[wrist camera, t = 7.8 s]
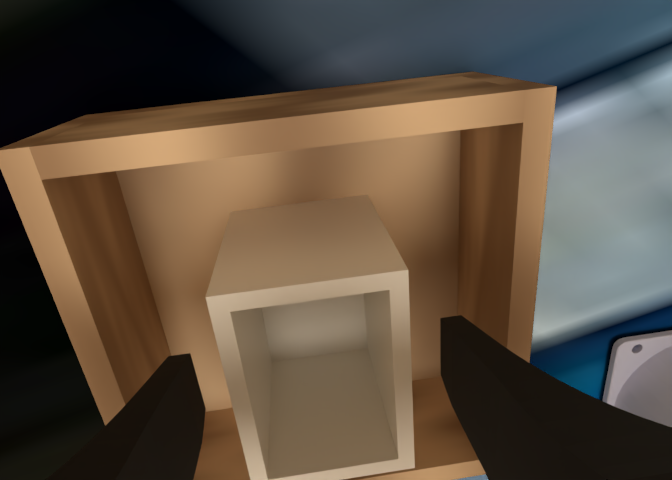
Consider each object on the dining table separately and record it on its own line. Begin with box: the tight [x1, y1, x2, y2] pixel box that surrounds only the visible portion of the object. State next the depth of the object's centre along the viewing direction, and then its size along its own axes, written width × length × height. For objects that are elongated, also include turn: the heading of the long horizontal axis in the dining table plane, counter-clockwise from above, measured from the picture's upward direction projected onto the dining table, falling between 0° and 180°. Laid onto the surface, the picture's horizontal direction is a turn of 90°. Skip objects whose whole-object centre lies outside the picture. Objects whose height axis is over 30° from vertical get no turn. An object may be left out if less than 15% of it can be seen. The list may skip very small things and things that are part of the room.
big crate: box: [0, 72, 557, 480], centre depth 16 cm, size 14×14×6 cm
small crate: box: [205, 195, 415, 480], centre depth 15 cm, size 5×7×6 cm
